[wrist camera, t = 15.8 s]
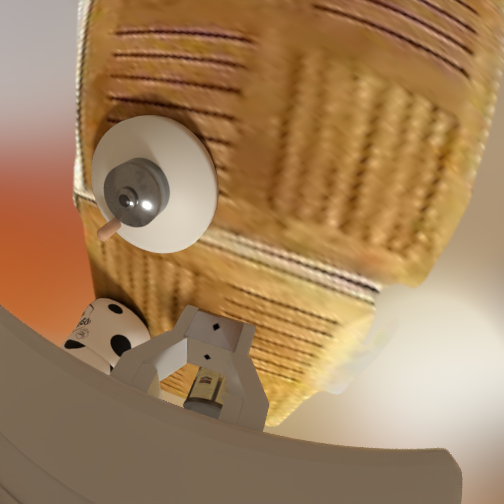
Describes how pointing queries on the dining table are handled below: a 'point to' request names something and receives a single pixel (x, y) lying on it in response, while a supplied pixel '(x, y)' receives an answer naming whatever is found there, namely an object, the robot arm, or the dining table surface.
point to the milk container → (106, 334)
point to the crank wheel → (176, 171)
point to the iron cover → (136, 192)
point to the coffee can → (207, 393)
